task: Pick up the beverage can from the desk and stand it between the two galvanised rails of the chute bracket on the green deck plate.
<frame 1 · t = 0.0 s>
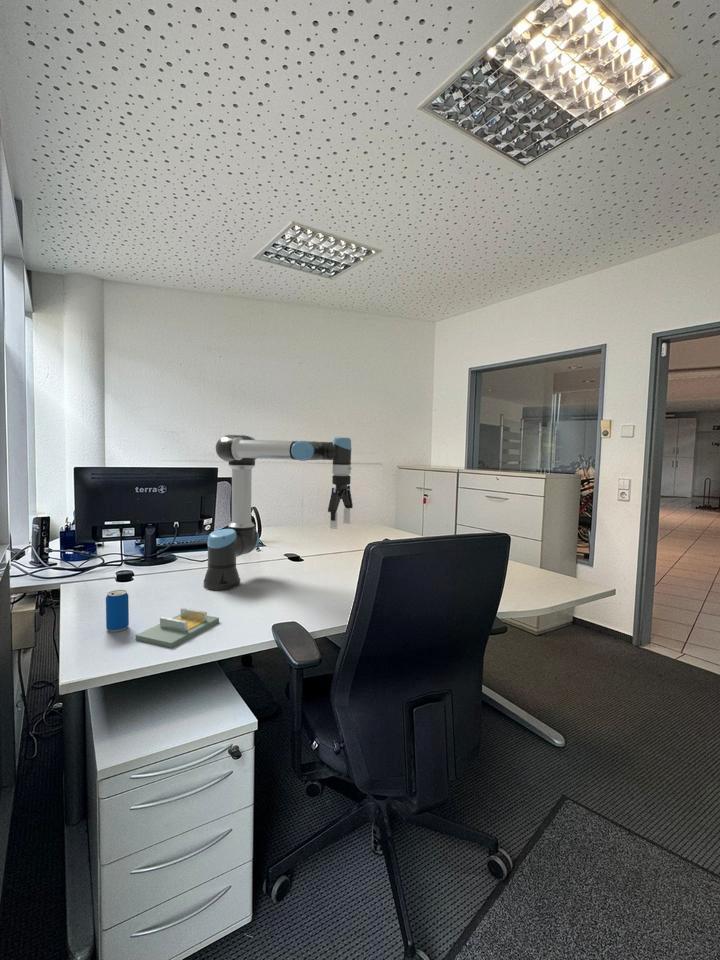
hand: (340, 525, 190), 28 cm above the table, fingers open, 13 cm apart
deck: (179, 630, 149), on the table
beverage can: (117, 629, 149), on the table
chute bracket: (183, 628, 151), resting on deck
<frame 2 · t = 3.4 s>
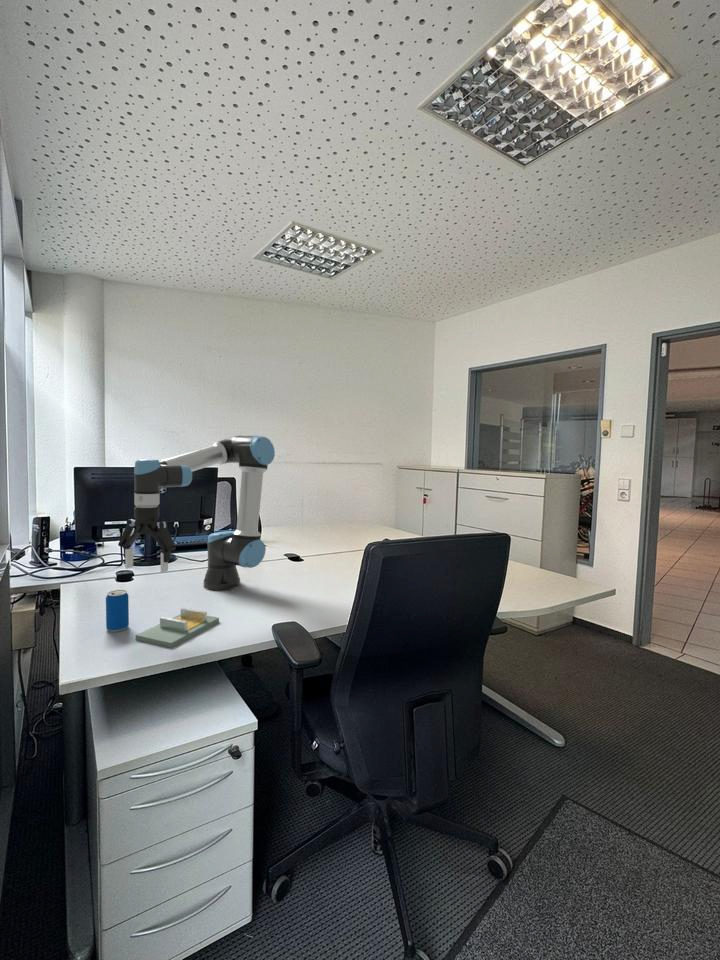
hand: (146, 569, 152), 19 cm above the table, fingers open, 13 cm apart
nothing on the table moved.
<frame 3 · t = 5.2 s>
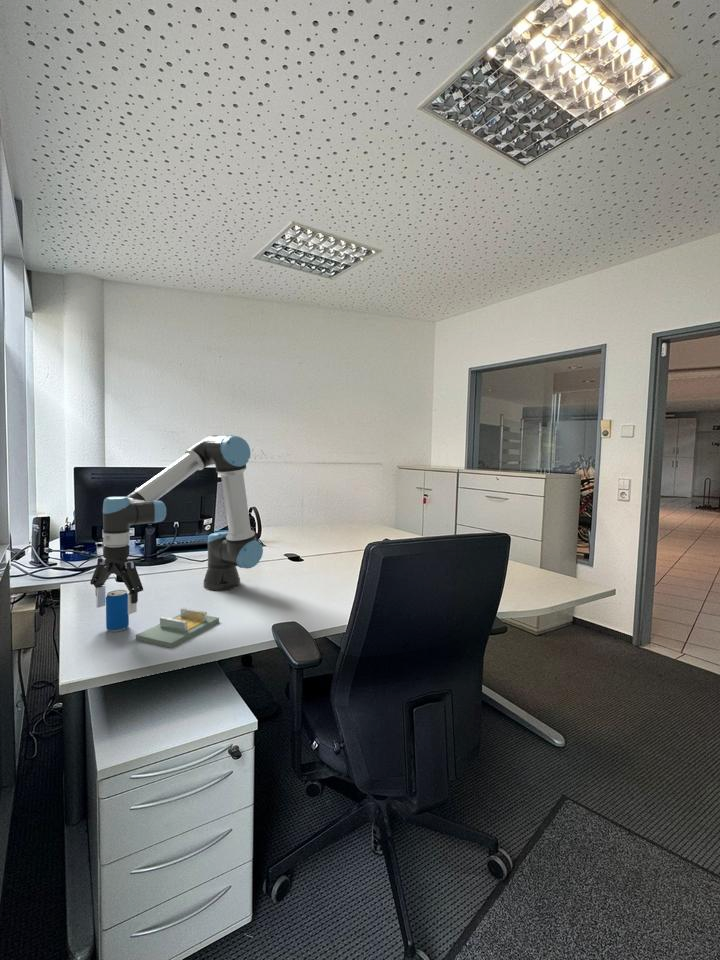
hand: (116, 609, 148), 6 cm above the table, fingers open, 13 cm apart
nothing on the table moved.
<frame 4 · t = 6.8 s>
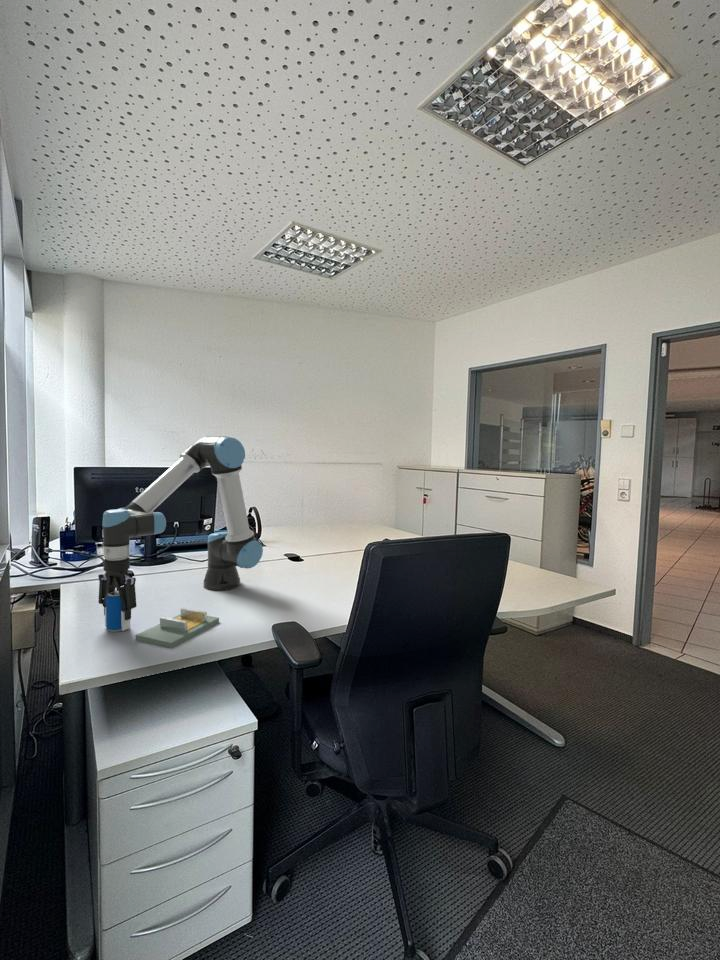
hand: (117, 627, 149), 0 cm above the table, fingers closed on beverage can, 6 cm apart
beverage can: (117, 629, 149), on the table, touching gripper
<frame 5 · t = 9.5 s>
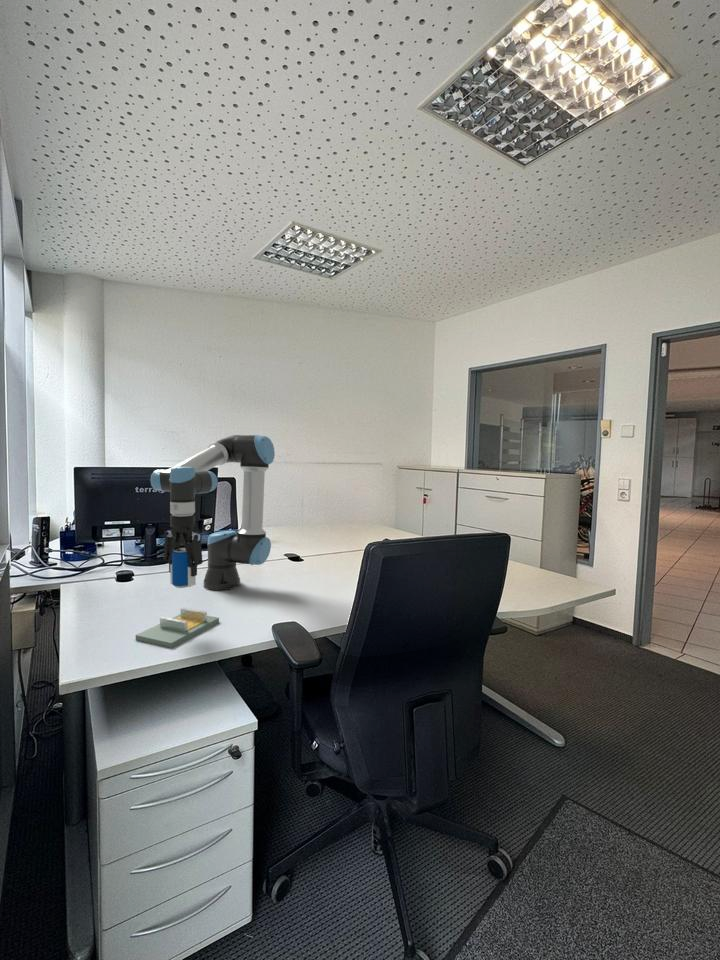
hand: (183, 584, 150), 15 cm above the table, fingers closed on beverage can, 6 cm apart
beverage can: (182, 586, 150), point 14 cm above the table, touching gripper
when the fingers open (3 cm above the table, at t = 12.5 s): beverage can stays where it is, resting on chute bracket.
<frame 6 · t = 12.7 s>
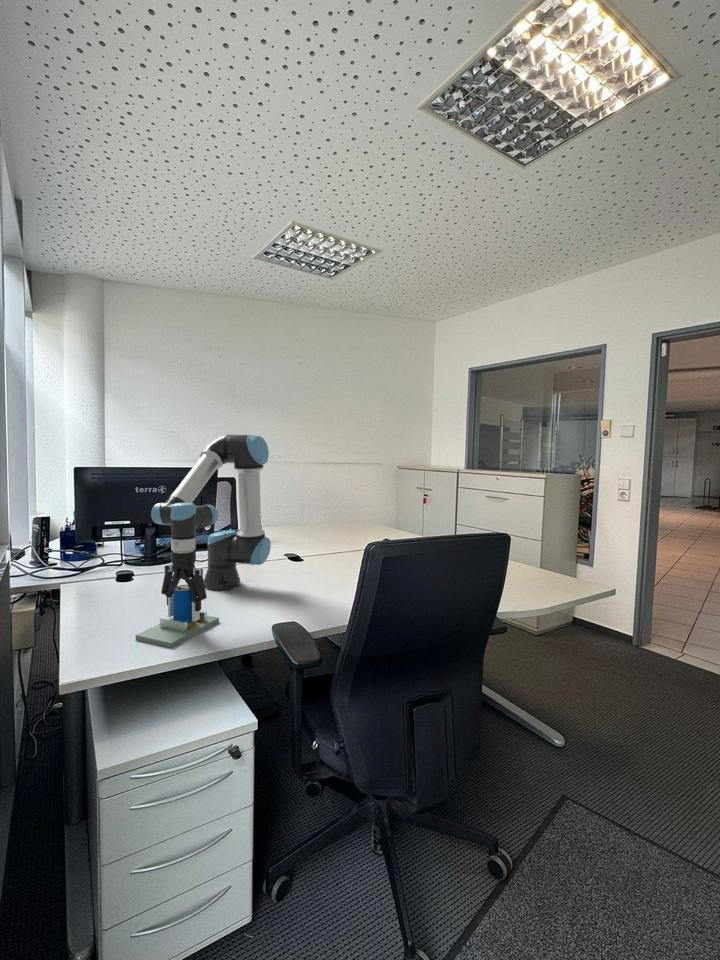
hand: (183, 617, 150), 3 cm above the table, fingers open, 9 cm apart
beverage can: (183, 623, 151), point 2 cm above the table, touching chute bracket
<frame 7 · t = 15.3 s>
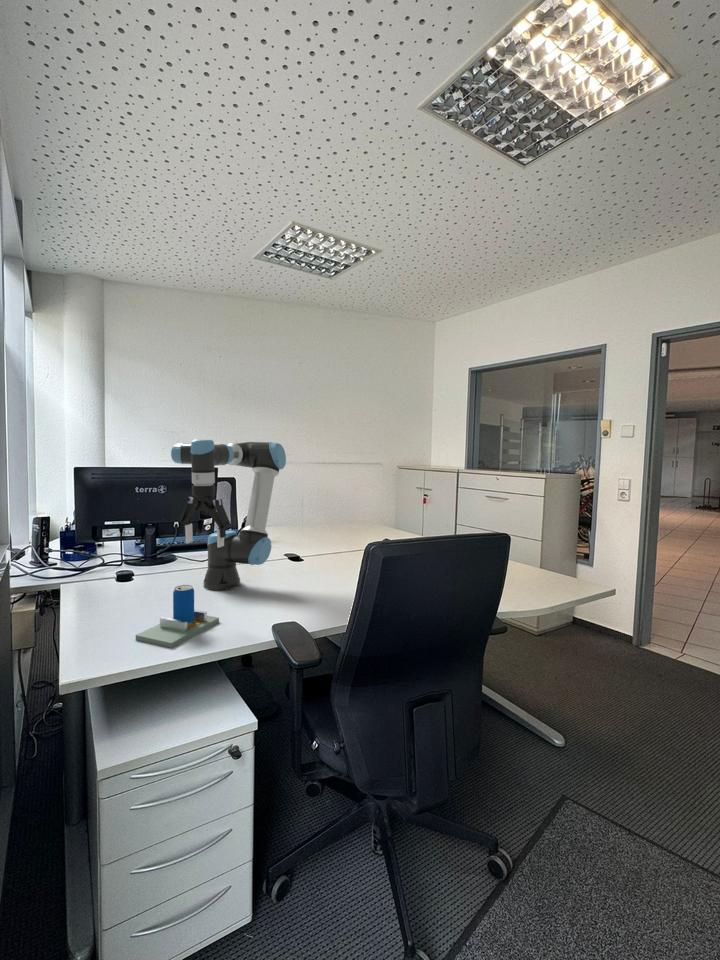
hand: (204, 544, 160), 26 cm above the table, fingers open, 13 cm apart
nothing on the table moved.
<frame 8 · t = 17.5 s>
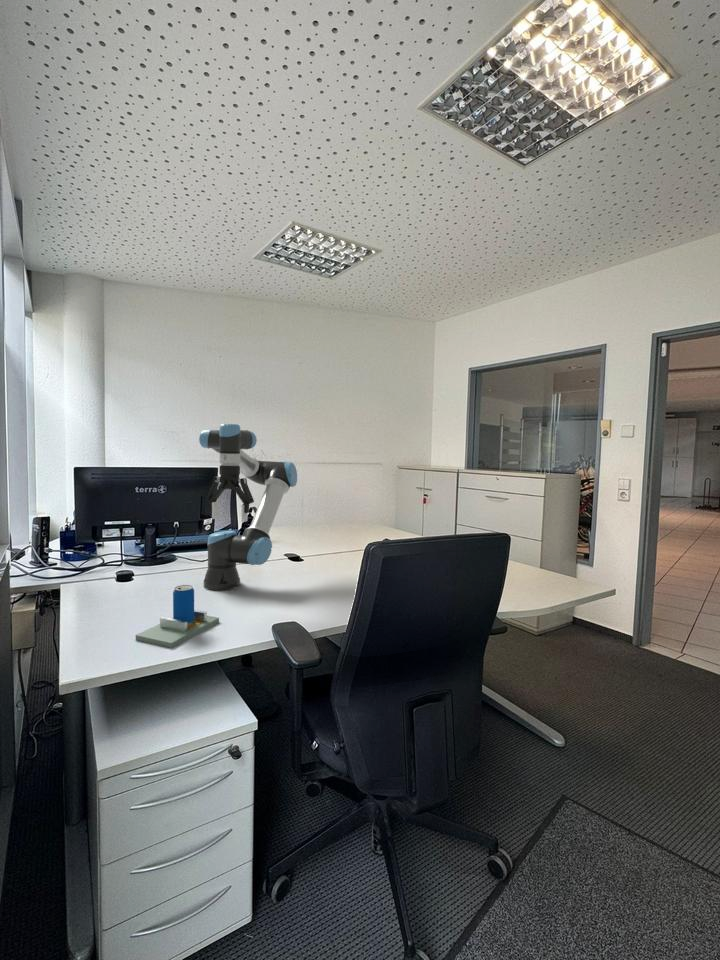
hand: (229, 520, 175), 32 cm above the table, fingers open, 13 cm apart
nothing on the table moved.
at the end: beverage can 0.0 cm from the chute bracket (horizontally); beverage can tilted 0°; the gripper is holding nothing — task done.
